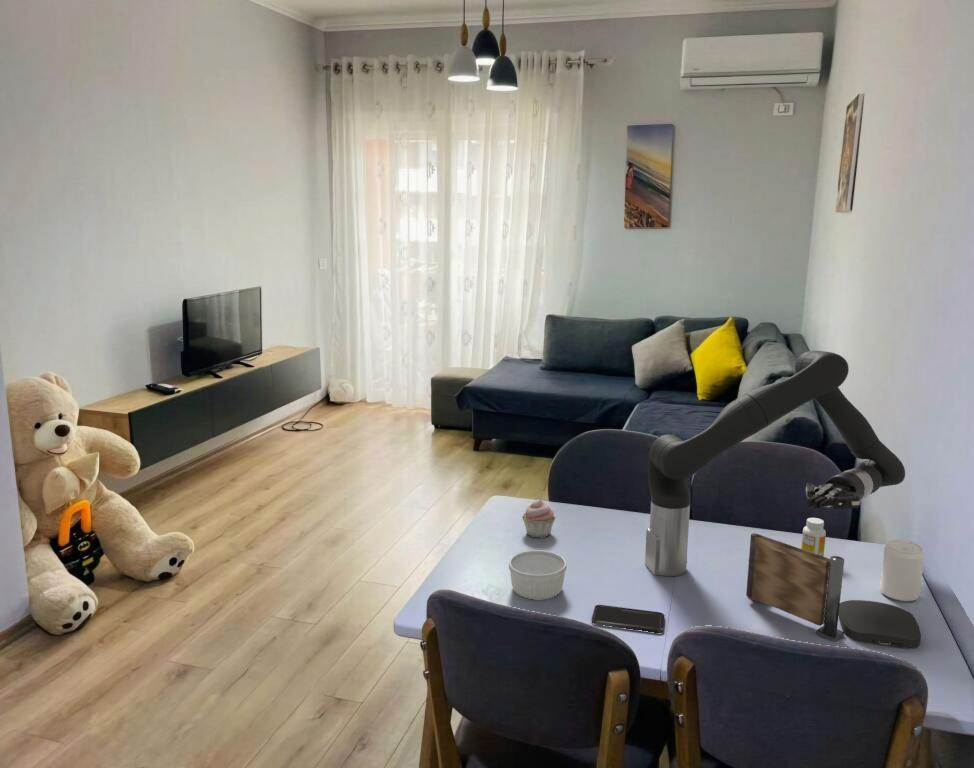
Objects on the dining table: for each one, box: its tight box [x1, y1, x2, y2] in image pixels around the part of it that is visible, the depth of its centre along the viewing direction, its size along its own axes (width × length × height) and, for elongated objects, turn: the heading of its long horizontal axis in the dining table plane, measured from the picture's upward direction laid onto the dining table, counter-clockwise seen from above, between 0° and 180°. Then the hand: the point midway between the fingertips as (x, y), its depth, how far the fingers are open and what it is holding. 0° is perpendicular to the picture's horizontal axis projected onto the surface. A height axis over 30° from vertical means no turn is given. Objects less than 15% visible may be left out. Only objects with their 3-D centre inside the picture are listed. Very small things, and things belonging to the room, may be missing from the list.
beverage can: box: [879, 539, 926, 602], centre depth 177 cm, size 8×8×12 cm
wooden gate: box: [745, 532, 830, 627], centre depth 168 cm, size 18×2×14 cm, turn 40°
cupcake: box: [521, 498, 557, 538], centre depth 211 cm, size 9×9×10 cm
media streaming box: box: [838, 599, 922, 650], centre depth 164 cm, size 15×15×3 cm
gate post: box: [747, 555, 845, 643], centre depth 167 cm, size 22×6×17 cm, turn 40°
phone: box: [591, 604, 666, 634], centre depth 168 cm, size 8×1×15 cm
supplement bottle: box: [800, 517, 827, 557], centre depth 197 cm, size 5×5×10 cm
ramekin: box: [508, 549, 567, 601], centre depth 180 cm, size 13×13×7 cm
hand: (812, 504), depth 173 cm, fingers closed
